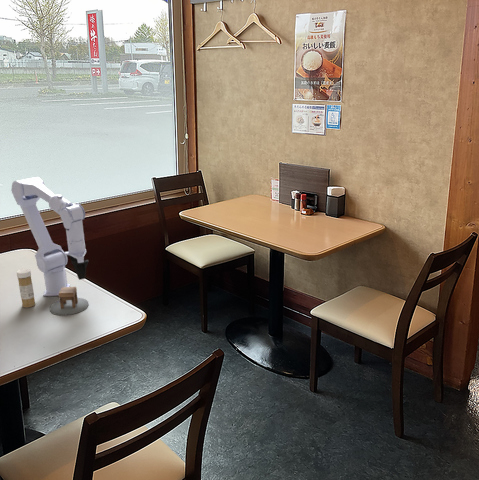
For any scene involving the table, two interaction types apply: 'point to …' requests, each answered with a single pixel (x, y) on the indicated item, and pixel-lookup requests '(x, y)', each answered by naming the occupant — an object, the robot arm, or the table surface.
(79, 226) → the robot arm
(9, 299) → the table surface
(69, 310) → the mat
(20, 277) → the sprinkles bottle
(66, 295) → the stool
